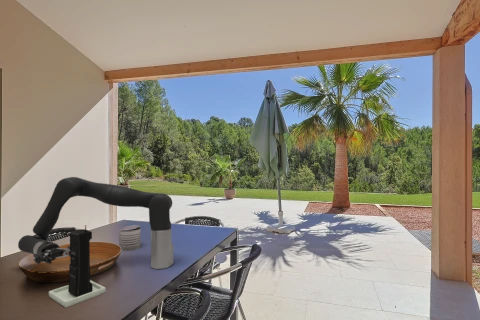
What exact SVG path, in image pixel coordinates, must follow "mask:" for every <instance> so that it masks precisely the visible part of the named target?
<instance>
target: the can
mask: <svg viewBox="0 0 480 320" xmlns="http://www.w3.org/2000/svg"><path fill="white" fill-rule="evenodd" d="M141 231H142V230H141V225H140V224H138V225H137V224H133V225H128V226H123V227H120V228H119V229H118V242H119V244H118V245H119V246H120V247H121V249H122V251H121V252H132V251H136V250H139V249H140V248H141V245H142V243H141V235H142V234H141Z"/></svg>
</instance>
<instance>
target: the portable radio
mask: <svg viewBox="0 0 480 320" xmlns="http://www.w3.org/2000/svg"><path fill="white" fill-rule="evenodd" d="M92 239H93V232H92V231H90V230H87V225H84V229H76V230H72V231H70V233H69V246H70V256H69V257H70V258H69V259H70V261H69V262H70V263H69V265H68V266H69V267H68V268H69V269H68V270H69V271H68V273H69V274H68V285H69V289H68V292H70V293H71V294H72V295H74V296H76V297H79V296H81V295H84V294H87V293H90V292H92V290H93V287H92V283H90V280H91V262H90V261H91V257H90V256H91V255H90V254H91V253H90V250H91V249H90V245H91V243H90V242H91V240H92Z"/></svg>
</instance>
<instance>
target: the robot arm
mask: <svg viewBox="0 0 480 320" xmlns="http://www.w3.org/2000/svg"><path fill="white" fill-rule="evenodd" d="M75 197H87V198H93V199H95V200H98V201H99V202H101V203H103V204H106V205H111V206H115V207H121V208H123V207H126V208H132V207H134V208H135V207H137V208H145V209H148V219H149V226H150V267H151V268H152V269H155V270H163V269H168V268H170V267H171V266H172V265H174V244H173V243H172V222H171V220H170V219H171V217H170V216H171V214H170V210H171V208H172V206H173V200H172V198H171V196H169V195H168V194H166V193H163V192H162V193H160V192H159V193H158V192H147V191H143V190H139V189H134V188H130V187H127V186H122V185H118V184H110V183H104V182H103V183H102V182H94V181H91V180H87V179H84V178H81V177H78V176H70V177H65V178H62V179H60V180H59V181H58V182H57V184H55V188H54V190H53V192H52V195H51V197H50V198H49V201H48V202H47V205H46V208H45V209H44V211H43V212H42V213H41V215H40V217H39V218H38V220H37V221H36V223H35V224H34V226H33V227H32V232H33V233H34V234H35V235H28V234H27V235H23V236H22V237H21V238H20V239H19V241H18V243H17V246H18V247H17V248H18V249H19V250H20V251H21V252H23V253H28V254H31V255H32V256H33V257H32V258H33V259H32V260H33V262H35V263H36V264H38V265H39V264H41V263H43V264H44V263H46V264H49V265H51V264H52V261H55V260H56V259H59V258H66V257H70V245H69V246H68V245H67V246H66V248H64V247H63V248H61V247H60V245H59V244H57V243H55V242H53V241H50V240H48V238H49V236H50V233H51V232H52V230H53V228H54V227H55V225H56V224H57V222H58V220H59V218H60V213H61V210H62V209H63V207H64V205H65V204H66V203H67V202H68V201H69V200H70V199H71V198H75Z"/></svg>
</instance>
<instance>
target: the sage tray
mask: <svg viewBox="0 0 480 320" xmlns="http://www.w3.org/2000/svg"><path fill="white" fill-rule="evenodd" d="M90 283H92V287H93V290H92V292H90V293H87V294H84V295H81V296H79V297H76V296H74V295H72V294H71V293H70V292H68V289H69V284H67V285H64V286H61V287H57V288H55V289H52V290H49V291H48V297H49V298H50V299H52V300H53V301H55V302H56V303H58V304H59V305H61V306H63V307H64V308H68V307H71V306H73V305H76V304H79V303H82V302H84V301H87V300H90V299H93V298H95V297H99V296H100V295H103V294H106V289H107V288H106V287H105V286H103V285H101V284H99V283H97V282H96V281H95V282H94V281H93V280H91V279H90Z"/></svg>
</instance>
